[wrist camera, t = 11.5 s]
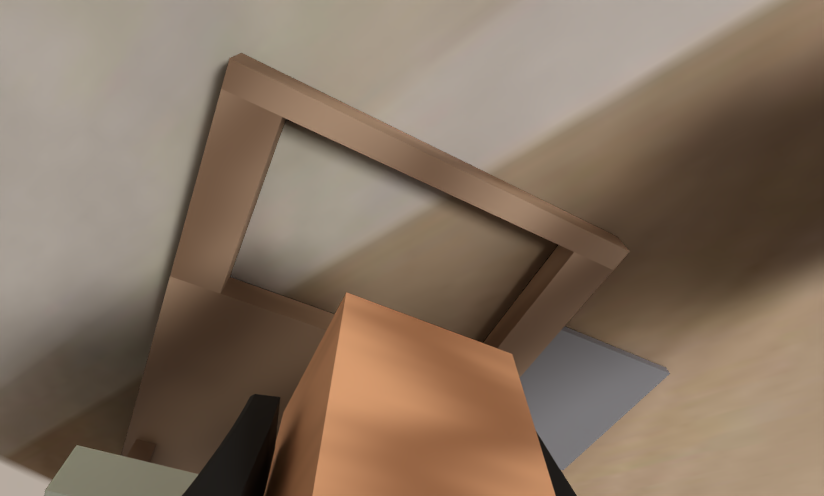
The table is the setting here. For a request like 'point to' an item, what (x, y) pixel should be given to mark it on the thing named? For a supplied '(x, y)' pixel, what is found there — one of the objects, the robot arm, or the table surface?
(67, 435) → the table surface
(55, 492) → the cover
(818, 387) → the table surface
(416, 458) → the block
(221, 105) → the brown wooden frame
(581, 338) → the mat
